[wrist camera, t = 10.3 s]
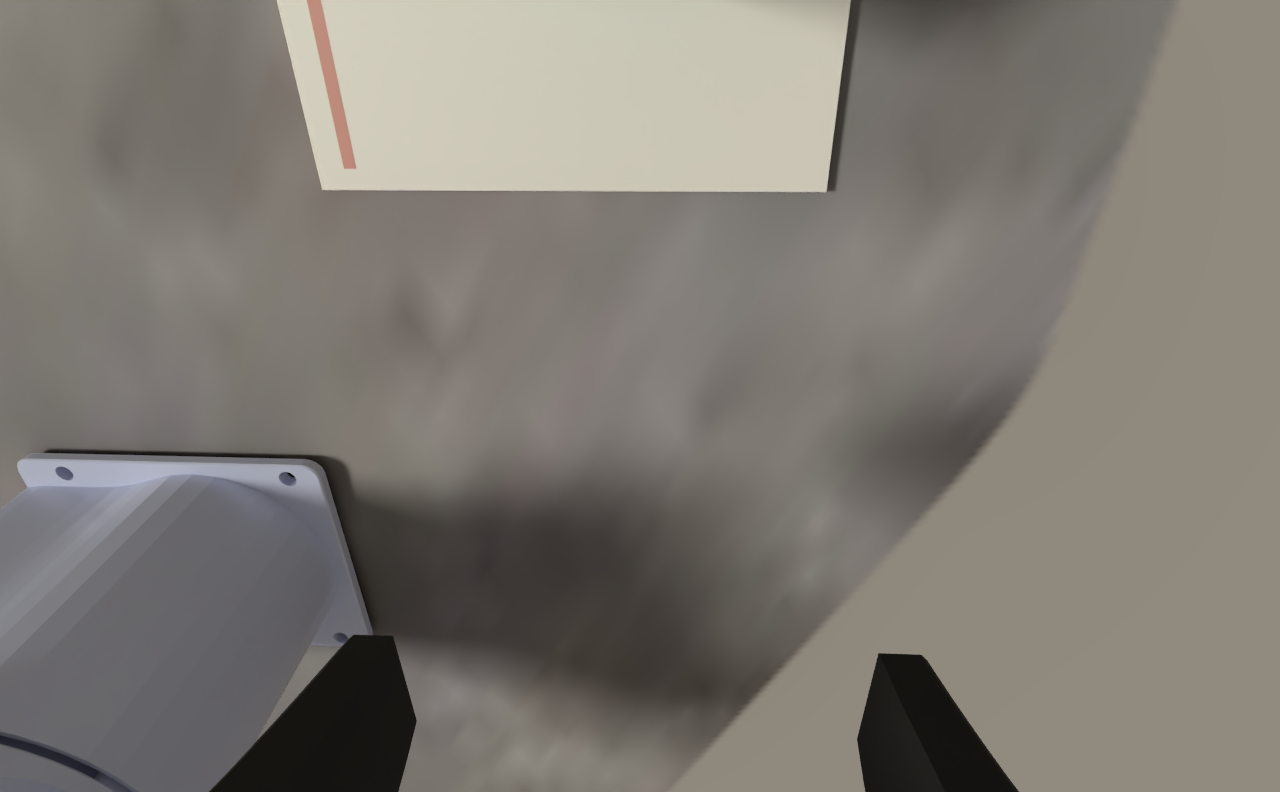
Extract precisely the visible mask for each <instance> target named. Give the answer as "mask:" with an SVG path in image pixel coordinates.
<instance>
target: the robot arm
mask: <svg viewBox="0 0 1280 792" xmlns="http://www.w3.org/2000/svg"><path fill="white" fill-rule="evenodd" d="M17 468H18V471H19V473H20V475H21V477H22V478H23V480H24V482H25V484H26V485H27V487H28V488H26V489H25V490H24V491H22V492H21V493H20V494H19V495H17V496H16V497H15V498H13V499H12V500H11V501H9V502H8V503H7V504H5V505H4V506H3V507H2V508H0V792H398V791H399V787H400V783H401V780H402V776H403V772H404V769H405V765H406V761H407V757H408V753H409V749H410V745H411V741H412V737H413V733H414V729H415V725H416V721H417V720H416V717H415V713H414V710H413V706H412V703H411V699H410V695H409V692H408V688H407V685H406V681H405V677H404V674H403V670H402V667H401V663H400V660H399V656H398V652H397V649H396V645H395V642H394V638H393V636H378V635H373V631H372V627H371V624H370V621H369V617H368V614H367V611H366V607H365V604H364V601H363V597H362V594H361V590H360V587H359V584H358V580H357V577H356V574H355V570H354V567H353V564H352V560H351V557H350V554H349V550H348V547H347V544H346V540H345V537H344V534H343V530H342V527H341V524H340V520H339V517H338V514H337V510H336V507H335V504H334V500H333V497H332V494H331V490H330V487H329V484H328V480H327V477H326V474H325V471H324V470H323V468H322V467H321V466H320V465H319V464H318V463H316V462H314V461H312V460H307V459H279V458H236V457H194V456H151V455H108V454H65V453H30V454H28V455H27V456H25V457H24V458H23V459H21V460H20V461H19V462H18V465H17ZM286 472H288V473H291V474H292V475H294V476H295V478H293V477H291V476H289V475H288V474H287V473H286ZM310 645H316V646H342V647H341V648H340V649H339V650H338V651H337V652H336V653H335V655H334V656H333V657H332V658H331V659H330V660H329V661H328V663H327V664H326V665H325V666H324V667H323V668H322V669H321V670H320V672H319V673H318V674H317V675H316V676H315V677H314V678H313V680H312V681H311V682H310V683H309V684H308V685H307V686H306V687H305V689H304V690H303V691H302V692H301V693H300V694H299V695H298V696H297V698H296V699H295V700H294V701H293V702H292V703H291V704H290V705H289V706H288V708H287V709H286V710H285V711H284V712H283V713H282V714H281V715H280V716H279V718H278V719H277V720H276V721H275V722H274V723H273V724H272V725H271V726H270V727H269V728H268V730H267V731H266V732H265V733H264V734H263V735H262V736H261V737H260V738H259V739H258V740H257V738H258V736H259V734H260V733H261V731H262V729H263V727H264V725H265V724H266V722H267V720H268V718H269V717H270V715H271V713H272V711H273V709H274V708H275V706H276V704H277V702H278V701H279V699H280V697H281V695H282V694H283V692H284V690H285V688H286V686H287V685H288V683H289V681H290V679H291V678H292V676H293V674H294V672H295V670H296V669H297V667H298V665H299V663H300V662H301V660H302V658H303V656H304V654H305V653H306V651H307V649H308V647H309V646H310ZM256 740H257V741H256ZM255 741H256V742H255ZM857 741H858V748H859V754H860V761H861V767H862V773H863V780H864V786H865V791H866V792H1019V791H1018V790H1017V789H1016V787H1015V786H1014V785H1013V783H1012V782H1011V781H1010V779H1009V778H1008V777H1007V775H1006V774H1005V773H1004V771H1003V770H1002V769H1001V767H1000V766H999V764H998V763H997V762H996V760H995V759H994V758H993V756H992V755H991V753H990V752H989V751H988V749H987V748H986V746H985V745H984V744H983V742H982V741H981V739H980V738H979V736H978V735H977V733H976V732H975V731H974V729H973V728H972V726H971V725H970V724H969V722H968V721H967V719H966V718H965V716H964V715H963V713H962V712H961V711H960V709H959V708H958V706H957V705H956V703H955V702H954V700H953V699H952V697H951V696H950V694H949V693H948V691H947V690H946V688H945V687H944V685H943V684H942V682H941V681H940V679H939V678H938V676H937V675H936V673H935V672H934V670H933V669H932V667H931V666H930V664H929V663H928V661H927V660H926V659H925V658H924V657H923V656H922V655H909V654H880V653H879V654H878V658H877V662H876V666H875V670H874V674H873V678H872V682H871V686H870V690H869V694H868V698H867V702H866V706H865V710H864V714H863V718H862V722H861V726H860V730H859V734H858V738H857Z"/></svg>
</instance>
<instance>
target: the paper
mask: <svg viewBox="0 0 1280 792" xmlns="http://www.w3.org/2000/svg"><path fill="white" fill-rule="evenodd" d="M277 3H278V7H279V11H280V16H281V20H282V24H283V28H284V32H285V36H286V41H287V45H288V49H289V53H290V57H291V61H292V66H293V70H294V74H295V78H296V82H297V87H298V91H299V95H300V99H301V103H302V107H303V112H304V116H305V120H306V124H307V128H308V132H309V137H310V141H311V145H312V149H313V153H314V157H315V162H316V166H317V170H318V174H319V178H320V182H321V187H322V190H457V191H692V192H826V191H827V183H828V175H829V167H830V160H831V152H832V144H833V136H834V128H835V120H836V113H837V105H838V97H839V89H840V81H841V73H842V66H843V58H844V50H845V42H846V34H847V26H848V19H849V11H850V3H851V0H277Z"/></svg>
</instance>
